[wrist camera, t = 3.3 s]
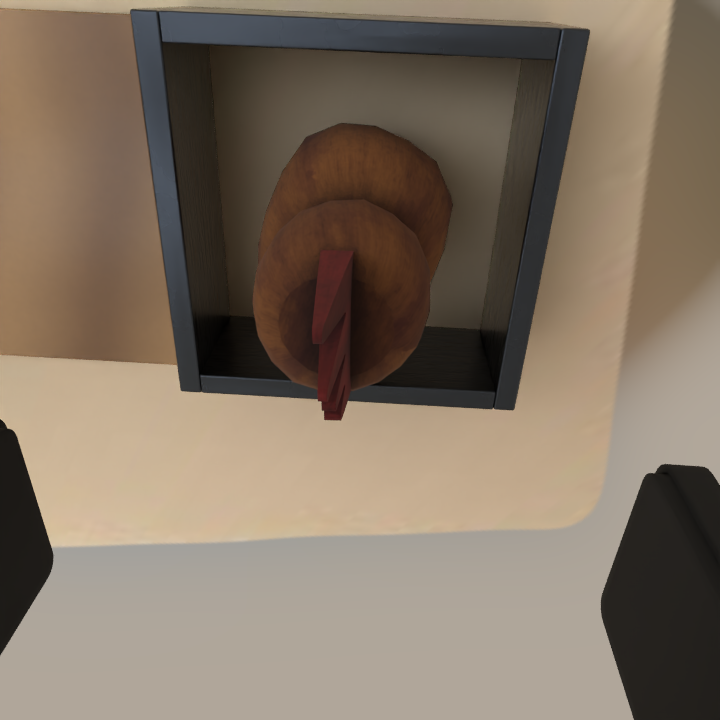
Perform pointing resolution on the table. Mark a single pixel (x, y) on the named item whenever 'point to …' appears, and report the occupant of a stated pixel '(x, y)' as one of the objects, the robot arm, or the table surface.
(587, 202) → the table surface
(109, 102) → the brown wooden board
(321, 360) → the wooden figurine
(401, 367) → the box
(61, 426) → the table surface
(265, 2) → the table surface
